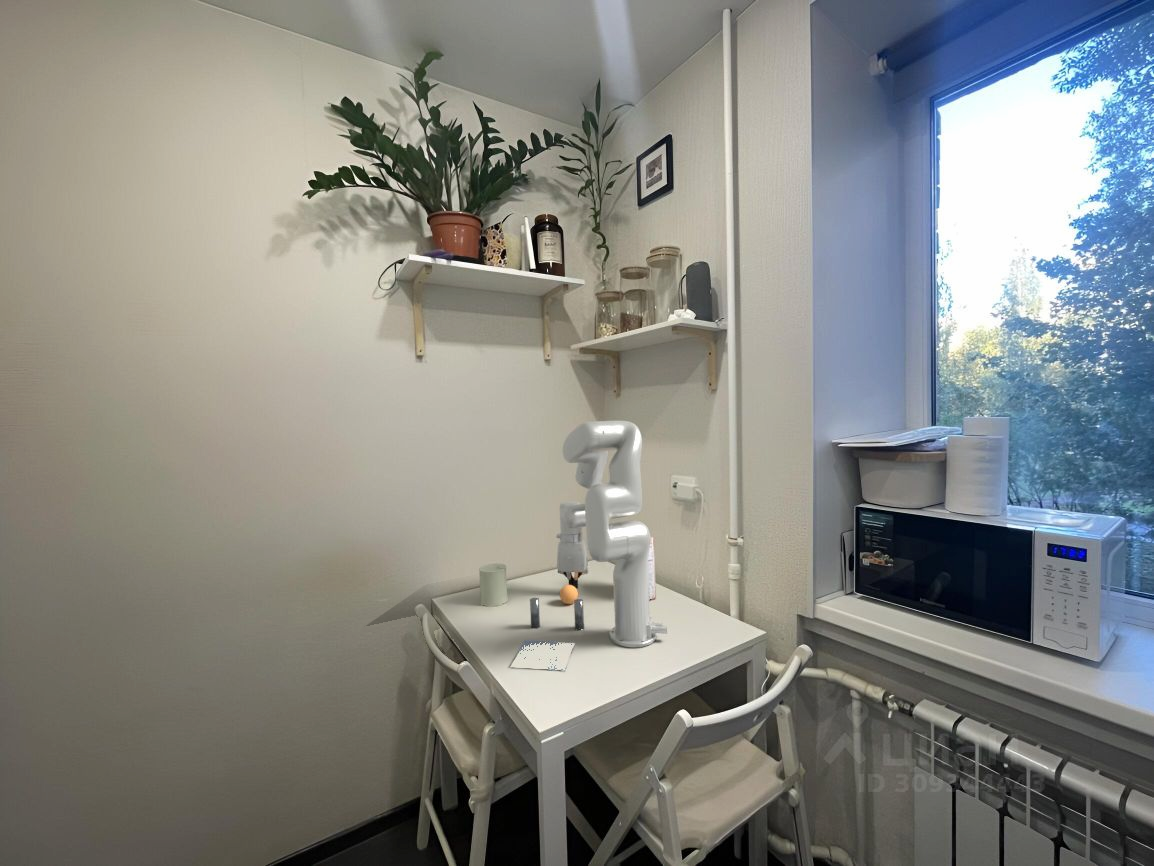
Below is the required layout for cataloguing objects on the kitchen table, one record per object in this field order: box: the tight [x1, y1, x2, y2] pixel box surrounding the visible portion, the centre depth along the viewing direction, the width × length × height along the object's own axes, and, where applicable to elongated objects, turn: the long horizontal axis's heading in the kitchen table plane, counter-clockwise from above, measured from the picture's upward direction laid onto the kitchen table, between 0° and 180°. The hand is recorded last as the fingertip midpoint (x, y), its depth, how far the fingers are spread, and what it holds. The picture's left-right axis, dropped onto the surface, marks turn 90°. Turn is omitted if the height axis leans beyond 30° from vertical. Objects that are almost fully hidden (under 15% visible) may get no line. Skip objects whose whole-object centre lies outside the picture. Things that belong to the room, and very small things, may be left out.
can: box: [478, 563, 509, 607], centre depth 154 cm, size 9×9×12 cm
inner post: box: [573, 598, 585, 631], centre depth 130 cm, size 3×3×8 cm
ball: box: [559, 584, 579, 605], centre depth 149 cm, size 6×6×6 cm
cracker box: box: [648, 536, 657, 601], centre depth 155 cm, size 14×6×21 cm, turn 24°
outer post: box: [529, 597, 541, 629], centre depth 132 cm, size 3×3×8 cm
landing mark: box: [514, 639, 572, 671], centre depth 116 cm, size 14×14×1 cm
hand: (573, 590), depth 157 cm, fingers closed
